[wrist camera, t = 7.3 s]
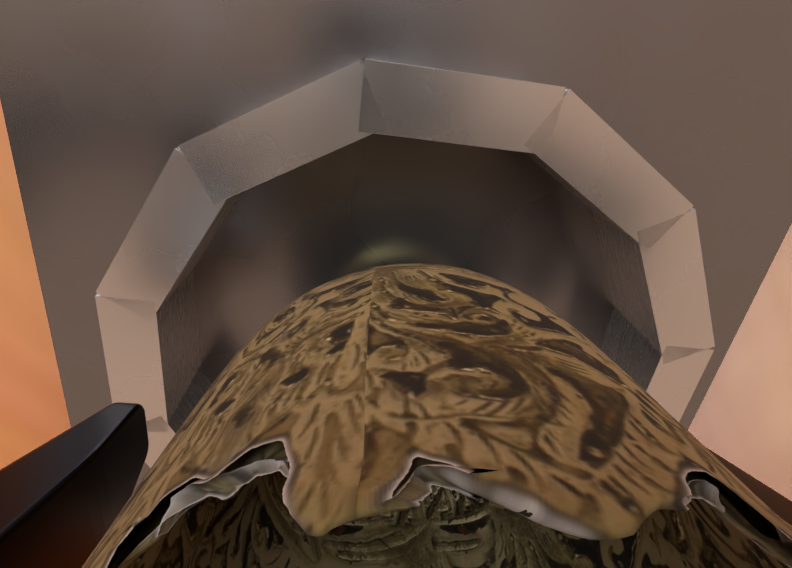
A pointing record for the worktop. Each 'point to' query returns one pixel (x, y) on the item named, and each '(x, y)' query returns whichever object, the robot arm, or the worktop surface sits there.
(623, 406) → the cup
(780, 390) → the worktop surface
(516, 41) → the cup bracket
